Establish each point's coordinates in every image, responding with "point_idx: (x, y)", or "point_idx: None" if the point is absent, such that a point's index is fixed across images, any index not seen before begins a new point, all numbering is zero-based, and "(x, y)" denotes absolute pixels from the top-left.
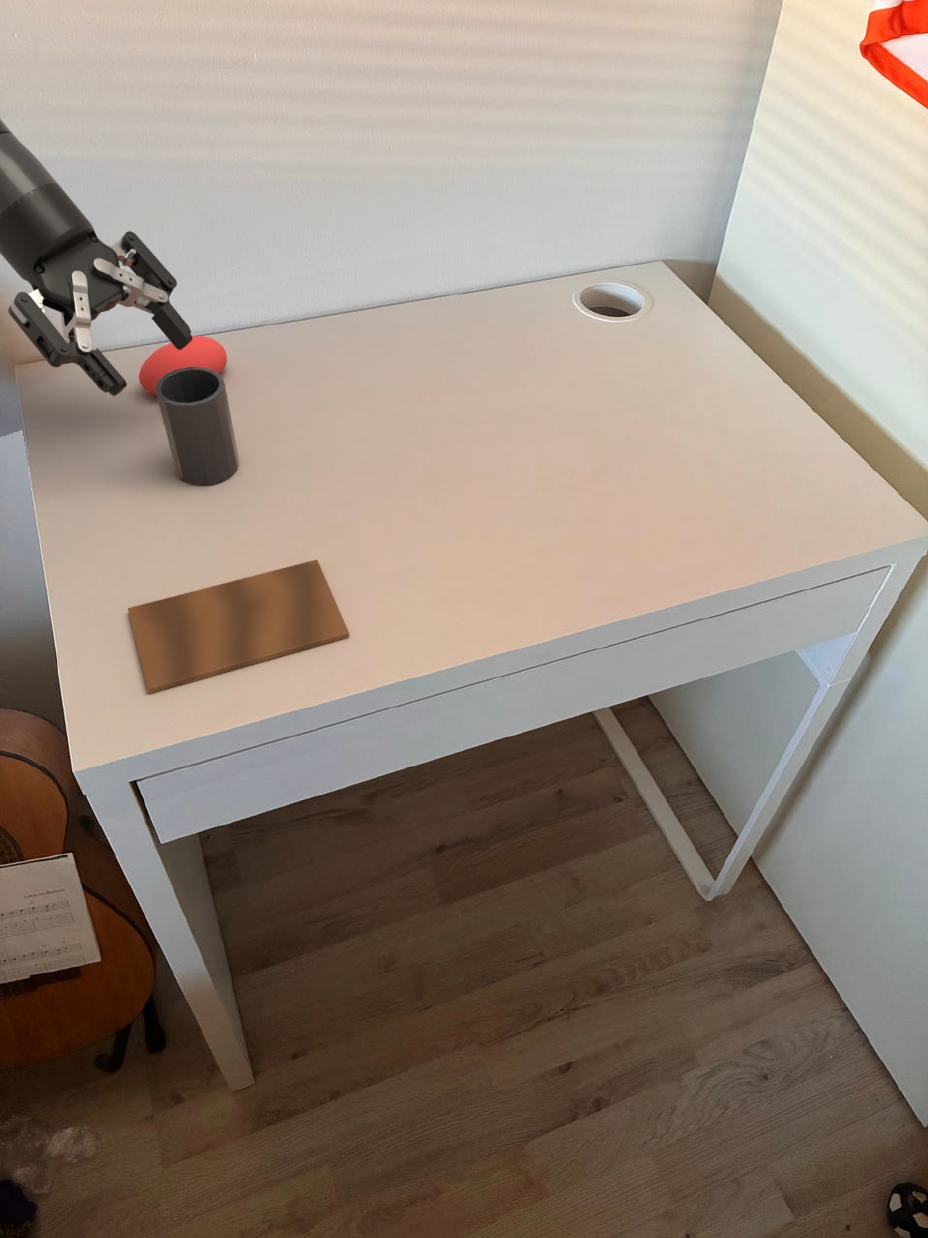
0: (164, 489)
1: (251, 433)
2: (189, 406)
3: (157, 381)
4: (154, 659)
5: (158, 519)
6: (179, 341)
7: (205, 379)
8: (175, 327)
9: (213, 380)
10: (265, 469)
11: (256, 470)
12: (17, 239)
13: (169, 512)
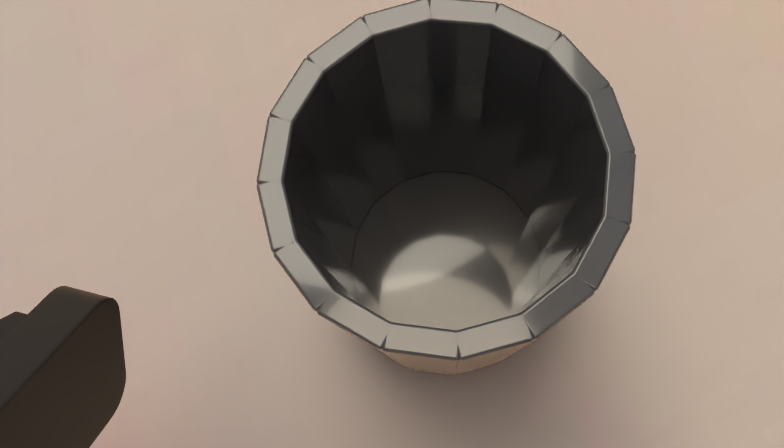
0: (607, 349)
1: (238, 201)
2: (612, 90)
3: None
4: None
5: (753, 296)
6: (101, 371)
7: (298, 179)
8: (45, 378)
9: (311, 122)
10: None
11: None
12: None
13: (707, 277)
